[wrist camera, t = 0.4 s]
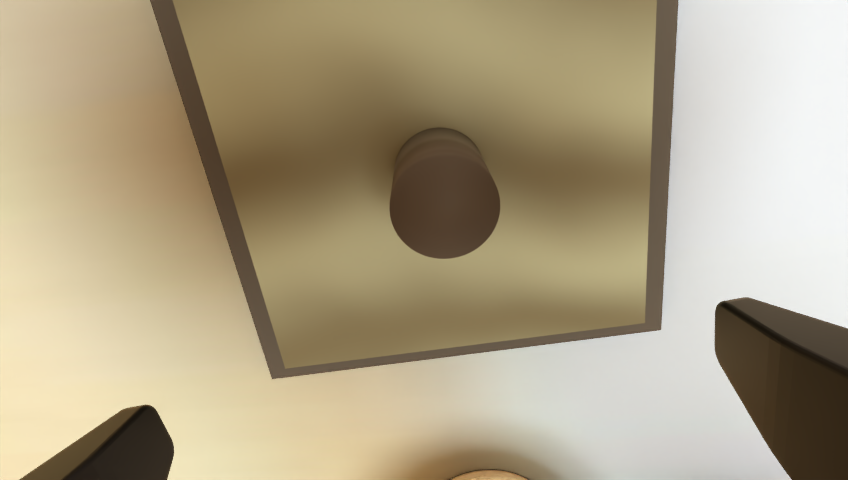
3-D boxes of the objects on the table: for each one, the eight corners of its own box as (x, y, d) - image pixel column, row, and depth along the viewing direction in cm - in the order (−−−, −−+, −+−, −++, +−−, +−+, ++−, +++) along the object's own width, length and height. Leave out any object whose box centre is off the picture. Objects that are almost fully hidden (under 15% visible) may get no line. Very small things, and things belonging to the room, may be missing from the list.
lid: (636, 311, 20) (689, 383, 16) (289, 356, 21) (260, 435, 17) (648, -104, 15) (733, -147, 11) (175, -28, 15) (92, -42, 11)
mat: (656, 324, 21) (660, 329, 21) (274, 372, 22) (272, 378, 21) (679, -147, 15) (686, -151, 14) (137, -59, 15) (130, -61, 15)
